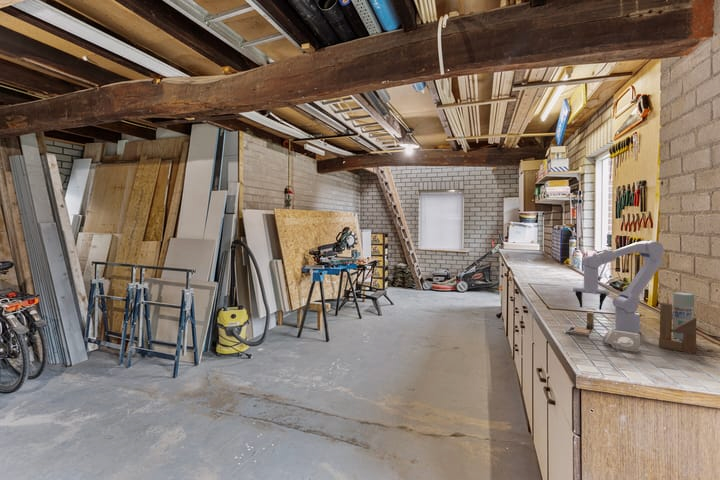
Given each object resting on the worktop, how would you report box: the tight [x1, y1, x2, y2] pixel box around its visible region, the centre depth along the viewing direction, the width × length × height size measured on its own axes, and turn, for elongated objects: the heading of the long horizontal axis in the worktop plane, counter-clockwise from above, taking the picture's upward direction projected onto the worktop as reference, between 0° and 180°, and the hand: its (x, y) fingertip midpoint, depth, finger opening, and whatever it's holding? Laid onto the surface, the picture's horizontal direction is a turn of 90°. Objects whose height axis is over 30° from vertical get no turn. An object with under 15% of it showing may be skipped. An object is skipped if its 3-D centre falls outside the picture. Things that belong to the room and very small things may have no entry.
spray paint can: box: [672, 291, 695, 341], centre depth 147 cm, size 6×6×20 cm
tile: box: [572, 327, 591, 335], centre depth 157 cm, size 6×6×2 cm
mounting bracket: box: [601, 329, 641, 353], centre depth 137 cm, size 12×6×11 cm, turn 53°
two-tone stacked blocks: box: [585, 311, 595, 331], centre depth 164 cm, size 2×7×8 cm, turn 140°
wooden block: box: [658, 302, 697, 354], centre depth 135 cm, size 4×11×18 cm, turn 47°
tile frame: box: [565, 325, 592, 338], centre depth 158 cm, size 9×11×1 cm
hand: (590, 308), depth 164 cm, fingers open, 7 cm apart
